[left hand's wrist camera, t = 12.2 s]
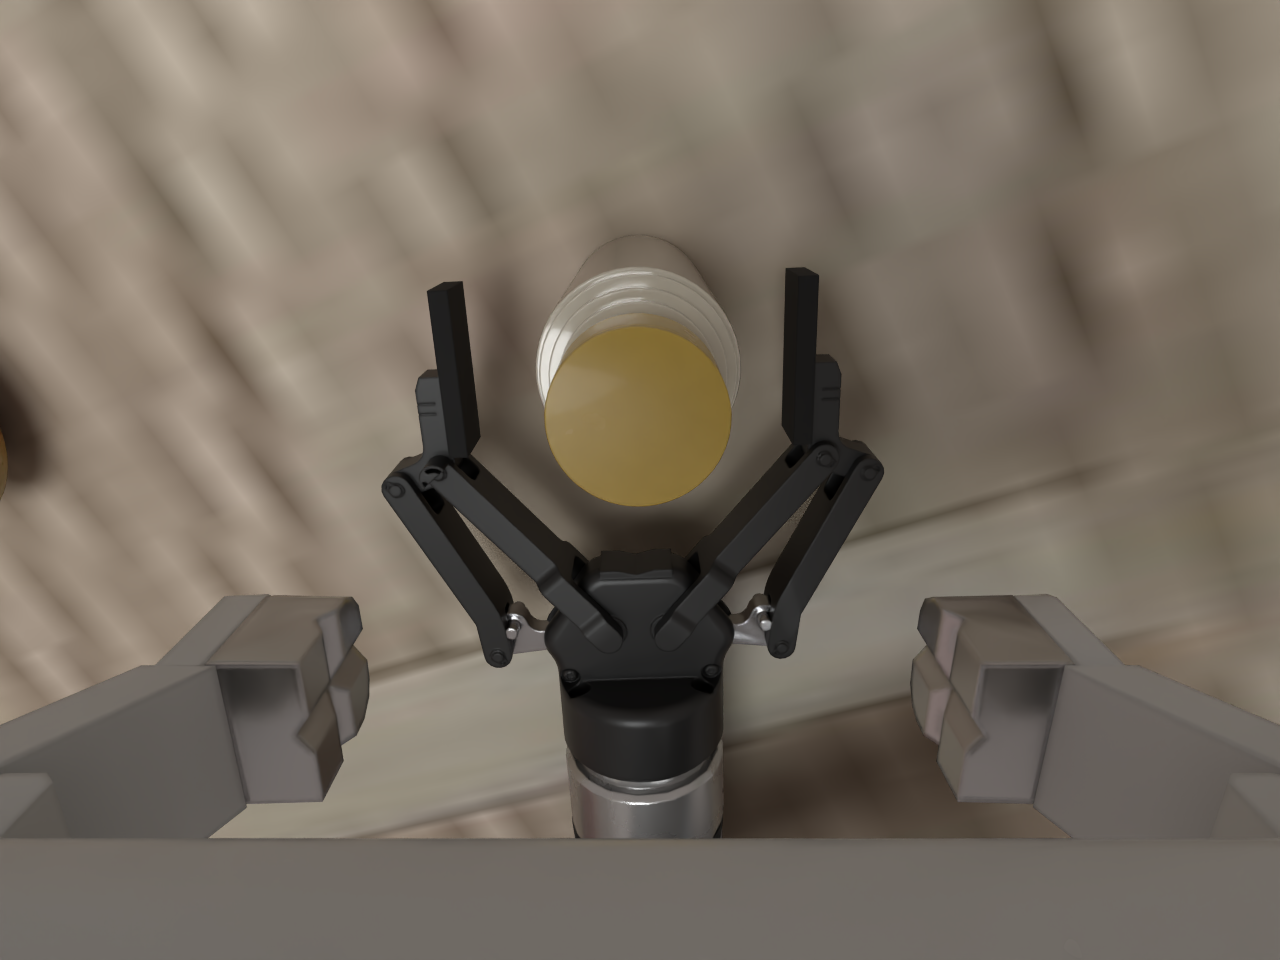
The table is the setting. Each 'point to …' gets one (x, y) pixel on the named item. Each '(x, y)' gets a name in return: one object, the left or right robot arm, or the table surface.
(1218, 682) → the table surface
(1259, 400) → the table surface
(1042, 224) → the table surface
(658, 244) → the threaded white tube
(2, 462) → the seashell
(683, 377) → the cap
